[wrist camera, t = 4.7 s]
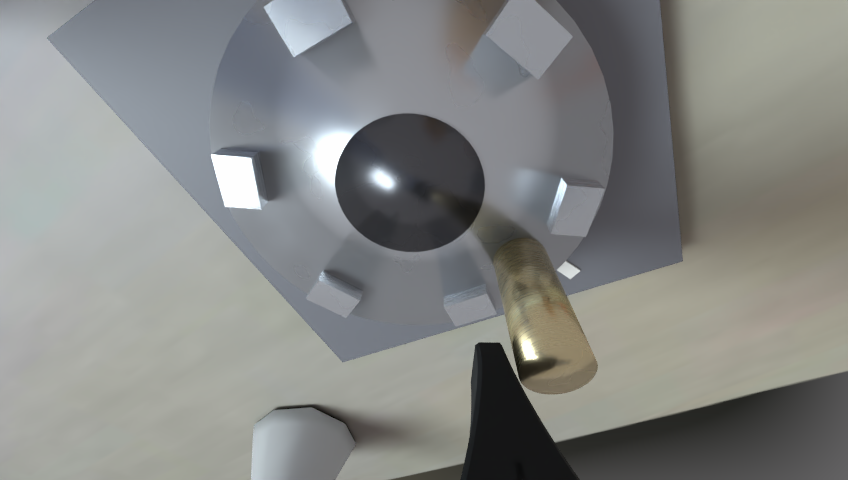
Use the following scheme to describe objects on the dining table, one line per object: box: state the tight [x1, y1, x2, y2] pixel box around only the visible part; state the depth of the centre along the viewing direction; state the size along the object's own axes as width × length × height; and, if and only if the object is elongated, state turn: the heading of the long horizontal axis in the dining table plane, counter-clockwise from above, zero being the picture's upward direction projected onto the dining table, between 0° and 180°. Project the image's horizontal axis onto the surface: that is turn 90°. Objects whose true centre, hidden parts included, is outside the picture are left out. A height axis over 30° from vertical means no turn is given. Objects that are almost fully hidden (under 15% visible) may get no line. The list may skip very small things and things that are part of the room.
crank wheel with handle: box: [209, 0, 613, 394], centre depth 10 cm, size 13×13×7 cm
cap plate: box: [47, 0, 683, 362], centre depth 14 cm, size 18×18×1 cm
